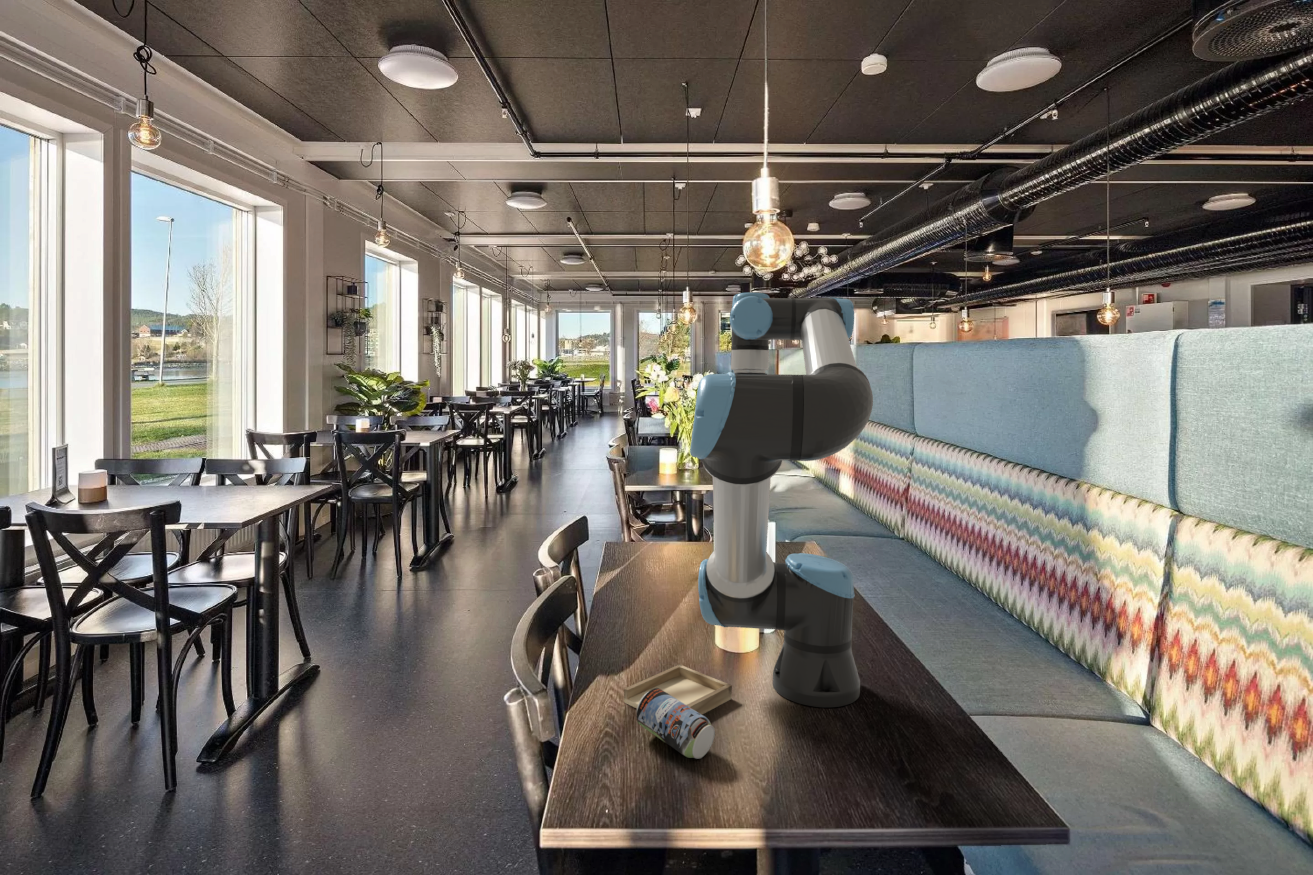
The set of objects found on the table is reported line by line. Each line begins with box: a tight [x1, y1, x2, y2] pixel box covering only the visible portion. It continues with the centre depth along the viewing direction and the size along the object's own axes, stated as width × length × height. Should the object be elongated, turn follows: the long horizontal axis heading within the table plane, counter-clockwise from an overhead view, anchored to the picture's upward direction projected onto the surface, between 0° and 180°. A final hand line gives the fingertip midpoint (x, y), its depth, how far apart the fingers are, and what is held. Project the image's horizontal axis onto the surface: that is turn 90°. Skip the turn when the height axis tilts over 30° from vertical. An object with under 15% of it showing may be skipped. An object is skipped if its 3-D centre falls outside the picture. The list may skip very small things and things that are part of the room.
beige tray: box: [623, 664, 733, 715], centre depth 117 cm, size 12×14×2 cm
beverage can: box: [636, 688, 716, 760], centre depth 102 cm, size 6×7×12 cm
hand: (746, 487), depth 140 cm, fingers closed
